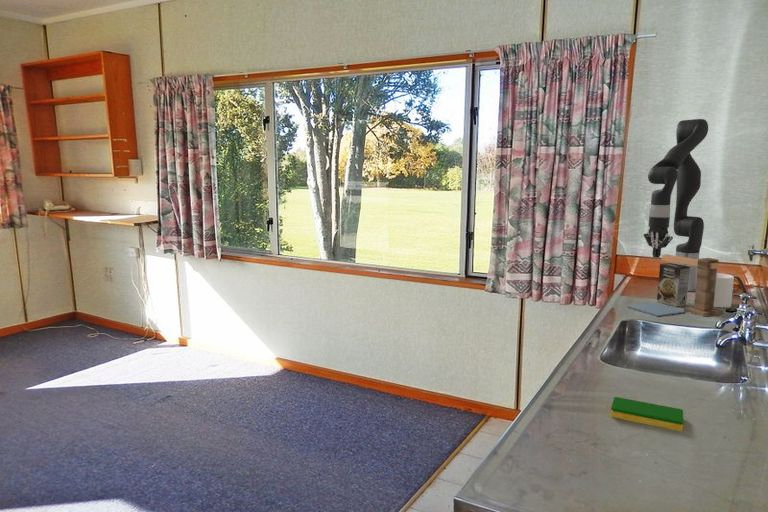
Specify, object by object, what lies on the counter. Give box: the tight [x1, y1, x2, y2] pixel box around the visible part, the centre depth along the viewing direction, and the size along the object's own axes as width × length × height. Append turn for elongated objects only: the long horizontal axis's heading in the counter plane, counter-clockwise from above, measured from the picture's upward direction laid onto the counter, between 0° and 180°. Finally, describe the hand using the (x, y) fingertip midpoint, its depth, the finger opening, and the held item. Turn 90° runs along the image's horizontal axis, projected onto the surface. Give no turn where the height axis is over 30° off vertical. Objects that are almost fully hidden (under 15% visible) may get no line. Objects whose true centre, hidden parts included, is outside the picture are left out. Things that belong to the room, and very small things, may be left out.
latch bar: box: [661, 254, 719, 270], centre depth 202 cm, size 3×22×2 cm, turn 21°
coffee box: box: [656, 262, 690, 308], centre depth 209 cm, size 9×6×16 cm
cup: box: [713, 272, 735, 309], centre depth 208 cm, size 12×12×12 cm
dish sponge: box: [610, 396, 684, 432], centre depth 114 cm, size 7×14×2 cm, turn 61°
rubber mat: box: [627, 302, 686, 318], centre depth 201 cm, size 14×14×1 cm
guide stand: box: [683, 257, 723, 317], centre depth 196 cm, size 10×8×21 cm
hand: (656, 257), depth 215 cm, fingers closed
